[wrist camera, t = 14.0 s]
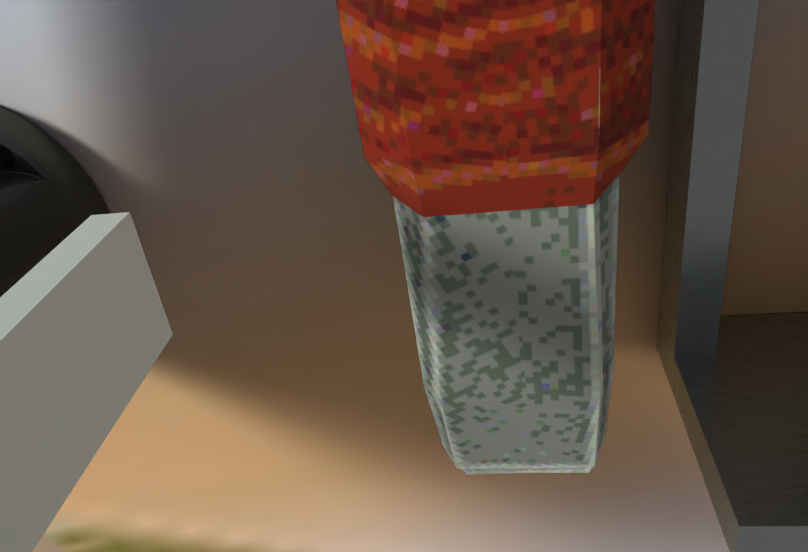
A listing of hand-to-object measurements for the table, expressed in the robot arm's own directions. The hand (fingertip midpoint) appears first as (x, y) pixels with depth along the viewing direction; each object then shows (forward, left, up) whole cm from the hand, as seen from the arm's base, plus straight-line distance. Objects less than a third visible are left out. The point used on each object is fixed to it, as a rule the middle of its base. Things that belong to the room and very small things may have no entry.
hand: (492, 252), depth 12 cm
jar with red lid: (0, 0, -22) cm, 22 cm away
